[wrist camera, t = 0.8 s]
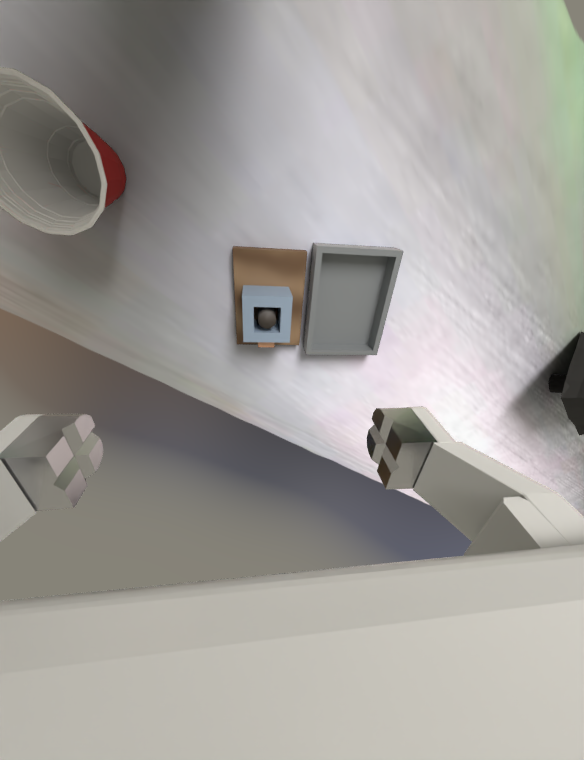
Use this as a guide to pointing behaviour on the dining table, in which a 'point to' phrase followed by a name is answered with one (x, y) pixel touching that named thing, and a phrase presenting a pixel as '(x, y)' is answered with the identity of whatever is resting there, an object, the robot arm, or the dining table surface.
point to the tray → (349, 298)
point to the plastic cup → (51, 160)
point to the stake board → (269, 284)
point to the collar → (266, 298)
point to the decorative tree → (572, 387)
